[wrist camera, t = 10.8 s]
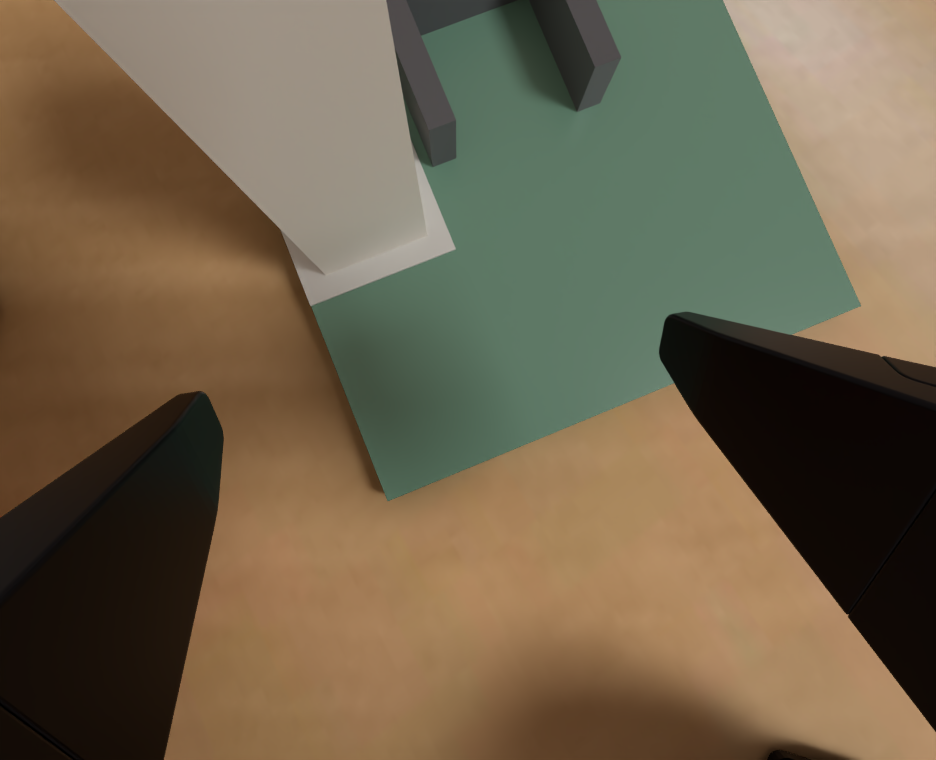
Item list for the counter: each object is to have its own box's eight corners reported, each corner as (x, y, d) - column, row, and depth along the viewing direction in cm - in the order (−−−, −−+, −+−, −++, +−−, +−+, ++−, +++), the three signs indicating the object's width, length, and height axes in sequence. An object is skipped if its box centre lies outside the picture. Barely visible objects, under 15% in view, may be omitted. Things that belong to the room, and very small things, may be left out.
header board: (840, 310, 20) (922, 290, 16) (391, 496, 19) (376, 516, 15) (673, -61, 21) (717, -156, 17) (236, 101, 20) (188, 35, 16)
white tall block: (427, 235, 19) (344, -240, 5) (325, 275, 18) (-53, -106, 5) (387, 138, 19) (202, -578, 5) (286, 176, 19) (-182, -461, 5)
